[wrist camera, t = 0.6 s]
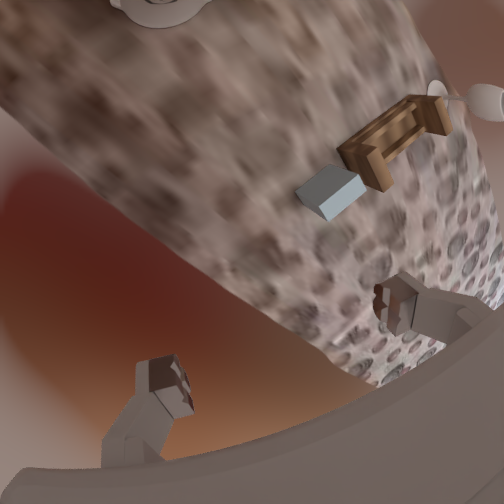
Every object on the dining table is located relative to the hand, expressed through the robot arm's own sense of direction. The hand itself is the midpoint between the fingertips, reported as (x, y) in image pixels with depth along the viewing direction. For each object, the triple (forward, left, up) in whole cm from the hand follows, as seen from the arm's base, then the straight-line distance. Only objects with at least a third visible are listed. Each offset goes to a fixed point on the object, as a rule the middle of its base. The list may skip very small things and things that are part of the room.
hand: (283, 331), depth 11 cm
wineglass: (-18, +57, -43) cm, 74 cm away
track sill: (-6, +39, -43) cm, 59 cm away
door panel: (+5, +23, -43) cm, 49 cm away
